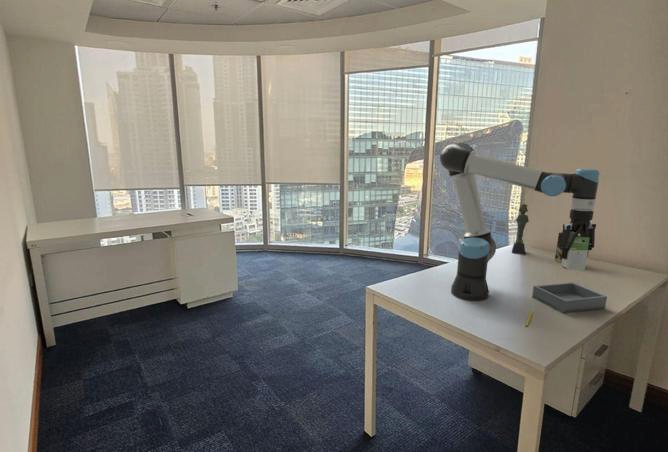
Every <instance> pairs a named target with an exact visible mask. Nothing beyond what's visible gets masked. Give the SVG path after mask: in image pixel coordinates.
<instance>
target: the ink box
mask: <svg viewBox="0 0 668 452" xmlns="http://www.w3.org/2000/svg"><path fill="white" fill-rule="evenodd" d="M589 238H590V237H576V238H575V240H574V242H573V244H572V246H571V248H570V250H569V251H571V254H570V261H569V268H567V267H564V266H561V267H562V268H563V269H565V270H567V271H570V270H574V271H585V269H586V266H587V261H586V258H587V259H588V257H587V252H588V245H589ZM580 239H581V240H585V242H582V241H581V242H575V241H576V240H580ZM566 248H567V247H566ZM585 265H586V266H585Z"/></svg>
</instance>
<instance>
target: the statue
mask: <svg viewBox="0 0 668 452" xmlns="http://www.w3.org/2000/svg"><path fill="white" fill-rule="evenodd" d="M517 211H518V212H520V214H518V215H517V217H516V219H515V221H516V223H517V239H515V242H514V243H513V245H512V248H511V249H512V250H511V253H512V254H517V255H526V247H525V243H524V239H523V237H524V229H525V227H526V225H527V223H529V222H530V219H529V216H528V215H526V213H527V212H529V210H528V204H525V203H523V204H521V205H520V207H519V209H518V210H517Z"/></svg>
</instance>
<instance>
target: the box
mask: <svg viewBox="0 0 668 452" xmlns="http://www.w3.org/2000/svg"><path fill="white" fill-rule="evenodd" d="M532 288H533V289H532V294H531V295H532V297H531V298H533V299H534V300H537V301H539V302H541V303H543V304H544V305H547V306H548V307H550V308H552V309H554V310H556V311H558V312H560V313H562V314H568V313H578V312H585V311H587V312H588V311H595V310H596V311H597V310H604V309H606V305H607V299H608V296H606V295H605V294H601V293H600V292H597V291H594V290H593V289H590V288H588V287H585V286H582V285H579V284H578V283H575V282H572V281H571V282H561V283H551V284H550V283H549V284H543V285H540V284H539V285H533V287H532Z"/></svg>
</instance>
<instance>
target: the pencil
mask: <svg viewBox="0 0 668 452" xmlns="http://www.w3.org/2000/svg"><path fill="white" fill-rule="evenodd" d="M533 313H534V312H533V311H532V310H531V311H529V314H528V317H527V319H526V322H525V325H524V326H525V327H528V326H529V324H530V322H531V319H532V316H533Z"/></svg>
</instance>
